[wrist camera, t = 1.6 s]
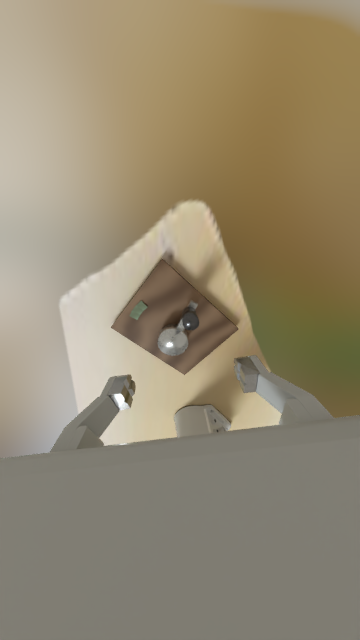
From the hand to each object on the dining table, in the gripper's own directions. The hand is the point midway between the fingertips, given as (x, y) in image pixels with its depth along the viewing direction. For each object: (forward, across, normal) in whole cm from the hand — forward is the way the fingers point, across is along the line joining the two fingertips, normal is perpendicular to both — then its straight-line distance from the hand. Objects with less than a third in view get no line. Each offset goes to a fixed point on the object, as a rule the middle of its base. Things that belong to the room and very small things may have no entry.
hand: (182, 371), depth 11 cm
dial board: (+22, -2, -9) cm, 24 cm away
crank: (+21, -1, -8) cm, 22 cm away
